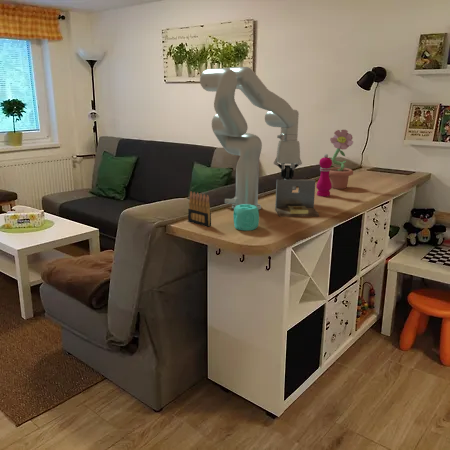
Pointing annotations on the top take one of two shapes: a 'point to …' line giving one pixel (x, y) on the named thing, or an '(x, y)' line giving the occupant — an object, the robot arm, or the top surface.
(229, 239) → the top surface
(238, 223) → the decorative dice
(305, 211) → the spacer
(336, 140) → the decorative flower
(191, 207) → the ammunition clip
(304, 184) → the grey rectangular panel
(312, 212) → the base board
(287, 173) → the shaft
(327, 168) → the pepper mill
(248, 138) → the robot arm
